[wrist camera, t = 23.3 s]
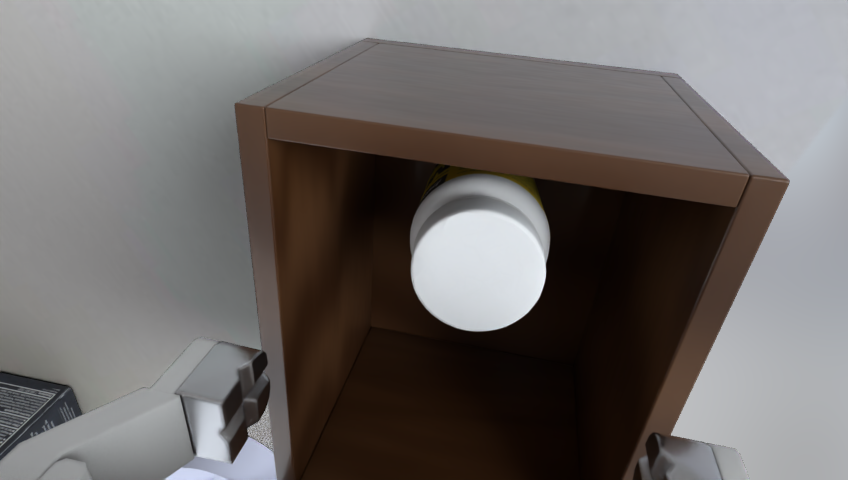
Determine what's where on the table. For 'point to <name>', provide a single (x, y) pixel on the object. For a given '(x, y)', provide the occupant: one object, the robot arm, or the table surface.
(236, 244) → the table surface
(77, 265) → the table surface
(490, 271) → the supplement bottle
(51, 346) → the table surface
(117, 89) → the table surface
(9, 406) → the small box
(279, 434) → the brown wooden open box
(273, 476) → the wedge on round base
